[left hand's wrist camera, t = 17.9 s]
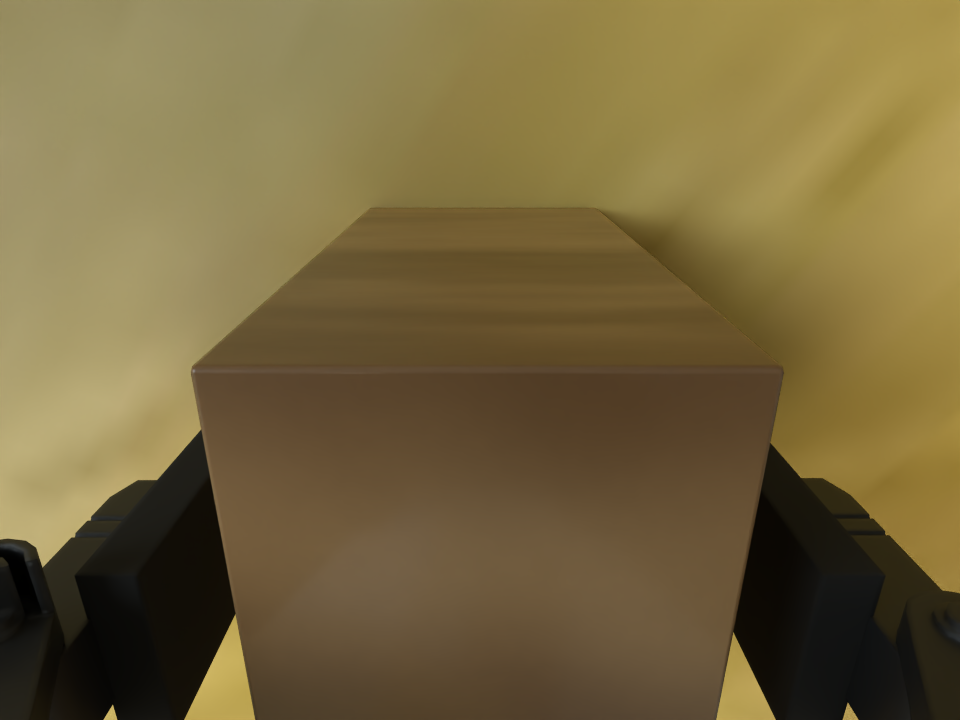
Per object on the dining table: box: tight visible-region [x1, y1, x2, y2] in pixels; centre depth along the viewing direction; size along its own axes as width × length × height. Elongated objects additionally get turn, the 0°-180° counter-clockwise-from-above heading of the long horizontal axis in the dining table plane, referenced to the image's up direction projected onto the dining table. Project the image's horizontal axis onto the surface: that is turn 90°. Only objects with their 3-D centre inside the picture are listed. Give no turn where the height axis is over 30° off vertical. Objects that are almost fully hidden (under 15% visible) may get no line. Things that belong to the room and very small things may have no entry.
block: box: [191, 208, 784, 720], centre depth 12 cm, size 9×5×10 cm, turn 0°
